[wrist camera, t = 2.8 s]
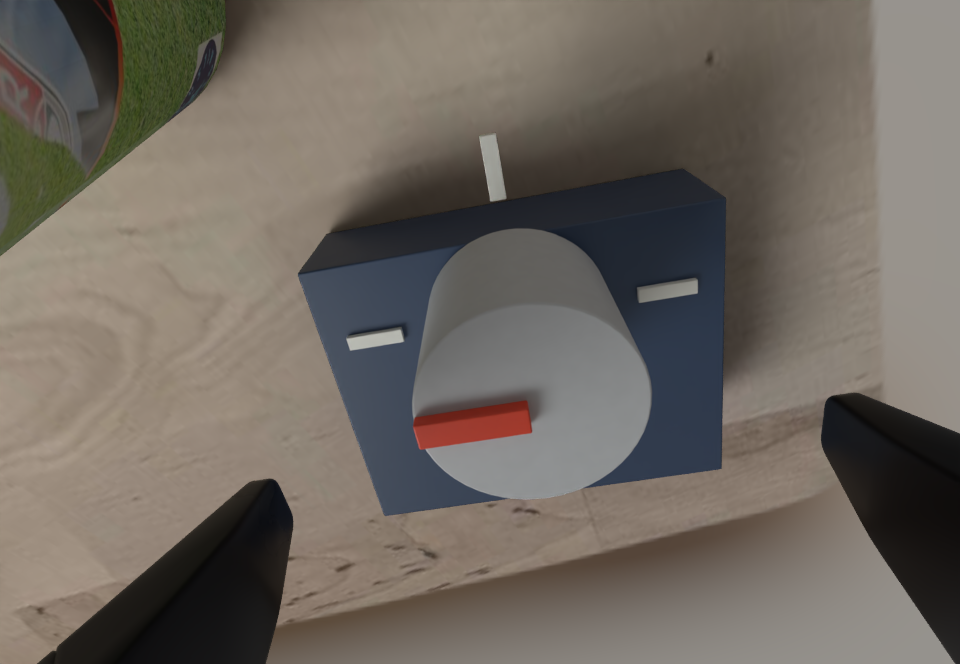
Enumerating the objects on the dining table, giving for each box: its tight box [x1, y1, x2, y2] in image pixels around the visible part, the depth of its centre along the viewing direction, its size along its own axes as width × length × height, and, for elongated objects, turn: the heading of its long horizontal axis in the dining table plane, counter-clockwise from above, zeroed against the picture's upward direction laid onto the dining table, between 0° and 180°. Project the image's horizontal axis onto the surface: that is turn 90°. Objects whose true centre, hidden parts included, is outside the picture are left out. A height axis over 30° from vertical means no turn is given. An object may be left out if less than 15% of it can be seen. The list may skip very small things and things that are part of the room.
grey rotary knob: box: [412, 228, 652, 499], centre depth 12 cm, size 4×4×4 cm
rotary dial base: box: [298, 133, 726, 516], centre depth 16 cm, size 10×10×3 cm
